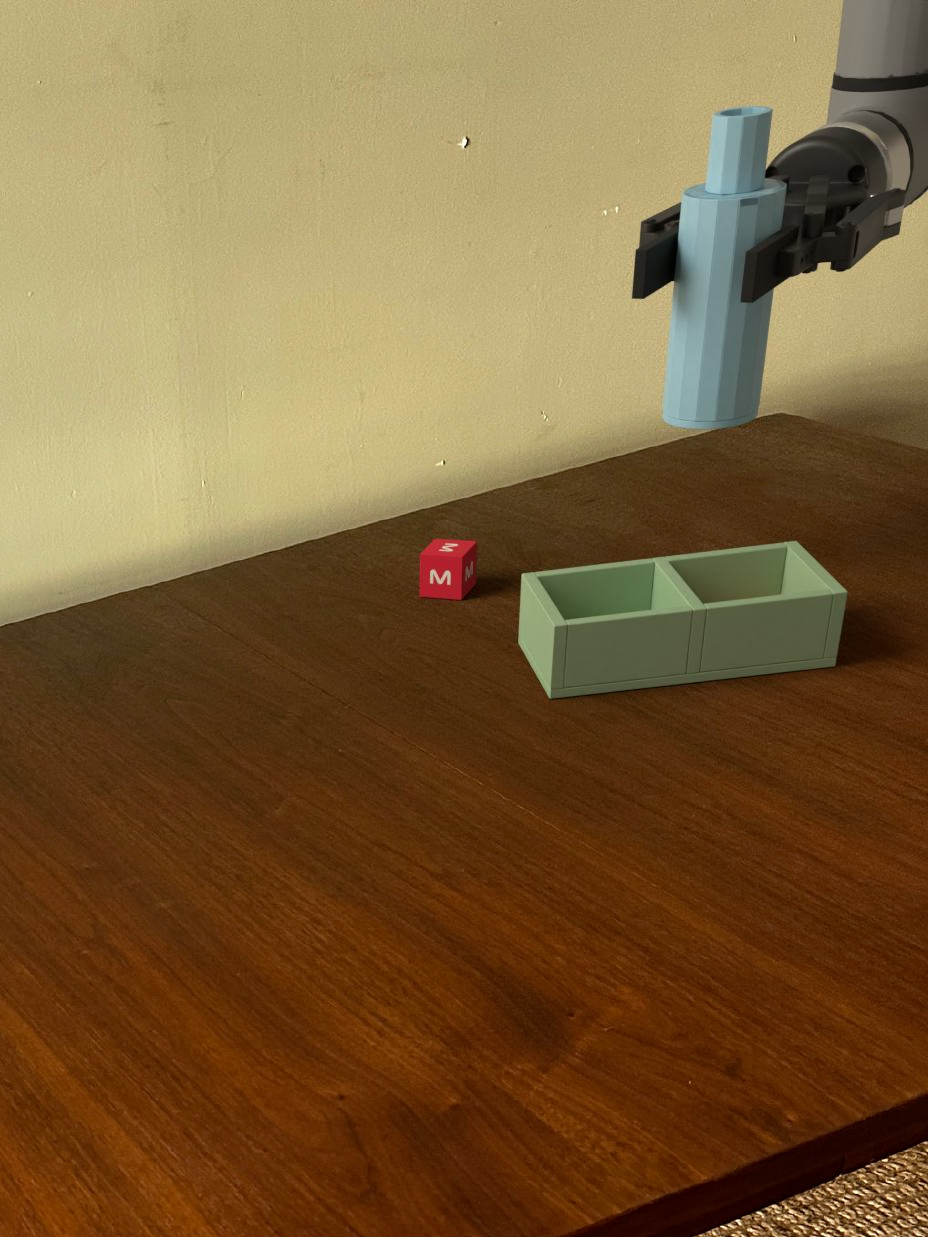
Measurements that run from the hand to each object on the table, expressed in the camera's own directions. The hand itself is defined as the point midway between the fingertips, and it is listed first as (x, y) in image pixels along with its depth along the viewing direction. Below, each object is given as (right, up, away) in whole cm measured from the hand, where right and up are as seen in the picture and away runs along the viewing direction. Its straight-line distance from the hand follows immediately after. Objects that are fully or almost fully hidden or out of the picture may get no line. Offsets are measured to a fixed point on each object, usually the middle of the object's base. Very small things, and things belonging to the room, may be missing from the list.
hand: (693, 275), depth 104 cm
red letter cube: (-10, -13, +18) cm, 24 cm away
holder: (+1, -21, +5) cm, 22 cm away
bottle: (+4, -4, +9) cm, 11 cm away
